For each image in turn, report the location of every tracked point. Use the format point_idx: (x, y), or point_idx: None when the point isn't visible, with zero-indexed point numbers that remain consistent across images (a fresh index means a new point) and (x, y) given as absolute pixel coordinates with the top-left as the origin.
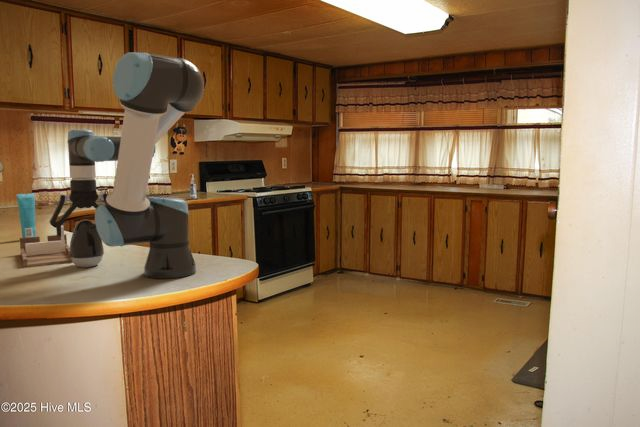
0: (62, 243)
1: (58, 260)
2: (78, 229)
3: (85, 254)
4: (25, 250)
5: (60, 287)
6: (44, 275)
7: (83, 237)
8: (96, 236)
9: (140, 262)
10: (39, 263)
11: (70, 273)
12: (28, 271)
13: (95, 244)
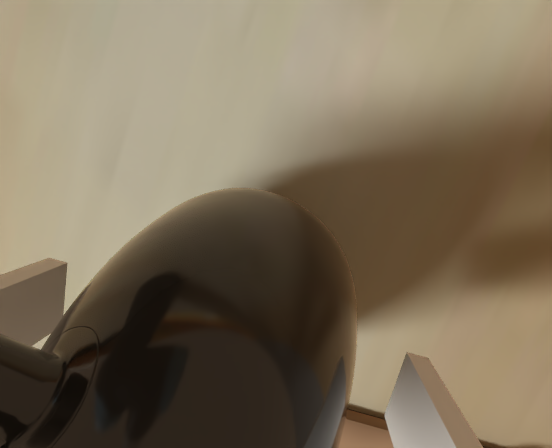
0: (437, 381)
1: (341, 440)
2: (290, 427)
3: (287, 202)
4: None
5: None
6: (529, 198)
7: (269, 273)
8: (118, 260)
9: (15, 141)
10: None
11: (403, 143)
12: (538, 355)
13: (182, 212)
